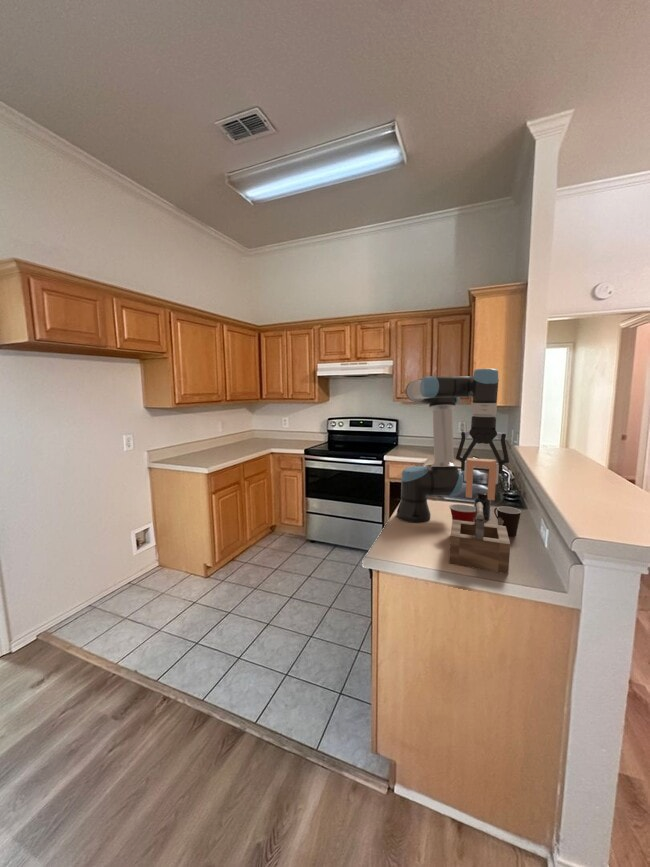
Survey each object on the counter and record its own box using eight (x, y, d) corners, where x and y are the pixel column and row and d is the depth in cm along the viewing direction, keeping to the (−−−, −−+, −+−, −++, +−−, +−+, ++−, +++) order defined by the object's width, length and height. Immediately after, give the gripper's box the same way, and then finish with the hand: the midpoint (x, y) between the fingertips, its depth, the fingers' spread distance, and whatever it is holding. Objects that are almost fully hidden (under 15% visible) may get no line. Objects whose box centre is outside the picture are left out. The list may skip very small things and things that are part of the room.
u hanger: (465, 494, 125) (467, 457, 123) (493, 497, 121) (496, 459, 120) (465, 497, 121) (467, 460, 120) (494, 500, 118) (496, 462, 116)
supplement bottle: (470, 515, 166) (471, 490, 164) (484, 515, 166) (486, 490, 165) (478, 520, 159) (479, 495, 158) (492, 520, 160) (494, 494, 158)
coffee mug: (522, 538, 140) (524, 514, 139) (498, 536, 142) (500, 512, 141) (513, 527, 151) (514, 504, 150) (491, 525, 153) (492, 503, 152)
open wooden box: (451, 544, 135) (453, 499, 133) (504, 552, 128) (507, 504, 126) (449, 563, 120) (451, 512, 118) (508, 573, 113) (511, 520, 111)
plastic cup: (475, 531, 147) (476, 503, 146) (477, 542, 137) (479, 512, 135) (447, 528, 151) (449, 501, 149) (447, 538, 140) (449, 509, 139)
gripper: (448, 415, 119) (446, 481, 121) (522, 417, 110) (517, 487, 113) (450, 414, 126) (447, 476, 128) (519, 415, 117) (515, 482, 120)
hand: (480, 481), depth 121 cm, fingers closed on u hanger, 9 cm apart
